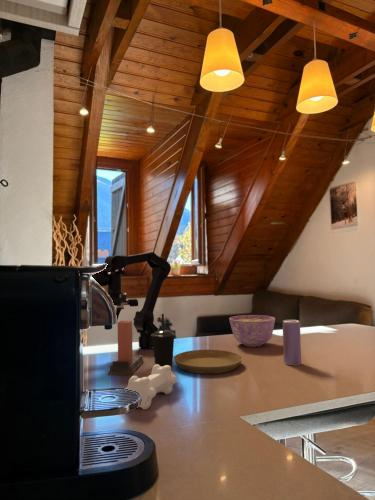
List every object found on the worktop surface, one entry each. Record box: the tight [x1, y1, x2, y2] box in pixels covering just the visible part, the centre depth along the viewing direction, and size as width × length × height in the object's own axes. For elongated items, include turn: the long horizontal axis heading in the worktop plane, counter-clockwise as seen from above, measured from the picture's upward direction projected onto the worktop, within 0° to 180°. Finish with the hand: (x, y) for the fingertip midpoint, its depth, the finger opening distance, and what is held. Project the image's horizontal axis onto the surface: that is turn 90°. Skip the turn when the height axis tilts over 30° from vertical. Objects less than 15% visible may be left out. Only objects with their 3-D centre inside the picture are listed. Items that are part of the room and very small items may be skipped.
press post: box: [117, 320, 134, 366], centre depth 130 cm, size 5×5×15 cm
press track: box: [107, 354, 144, 376], centre depth 131 cm, size 16×8×4 cm, turn 173°
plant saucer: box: [173, 349, 243, 375], centre depth 132 cm, size 24×24×3 cm
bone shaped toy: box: [124, 364, 178, 410], centre depth 100 cm, size 15×9×8 cm, turn 155°
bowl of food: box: [228, 314, 276, 348], centre depth 164 cm, size 20×20×12 cm
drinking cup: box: [151, 313, 176, 372], centre depth 120 cm, size 8×8×20 cm
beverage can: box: [282, 319, 302, 367], centre depth 132 cm, size 6×6×15 cm
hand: (115, 324), depth 152 cm, fingers closed
